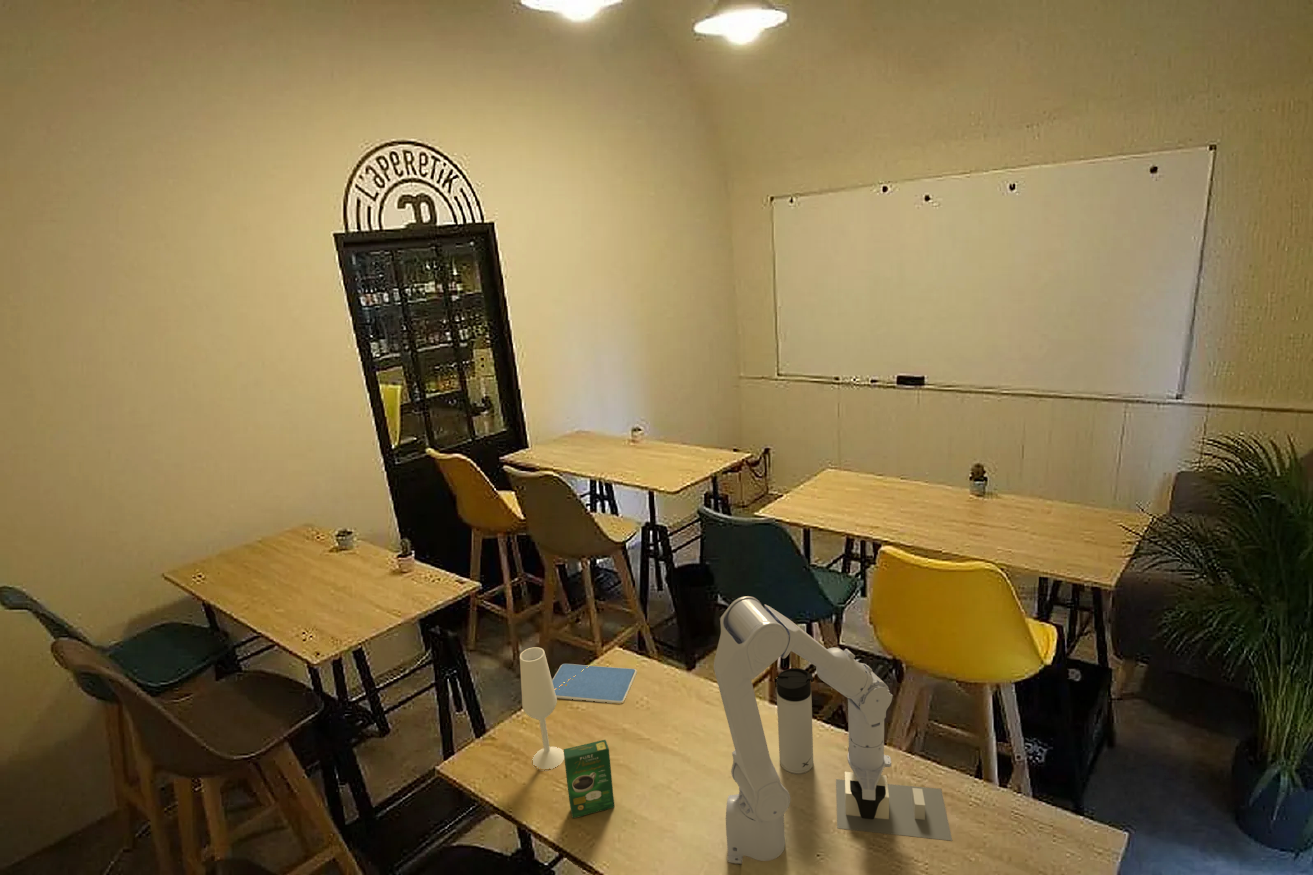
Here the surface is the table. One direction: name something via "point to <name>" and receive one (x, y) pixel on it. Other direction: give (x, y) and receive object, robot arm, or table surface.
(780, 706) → the travel mug
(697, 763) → the table surface
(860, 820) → the board
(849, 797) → the cream rectangular block
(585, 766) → the coffee box
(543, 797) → the table surface
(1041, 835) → the table surface
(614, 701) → the tablet computer
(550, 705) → the champagne flute
